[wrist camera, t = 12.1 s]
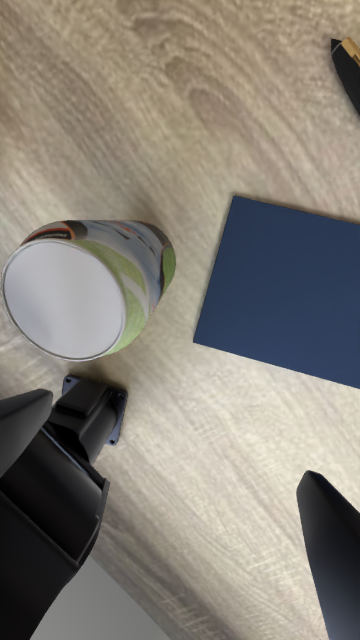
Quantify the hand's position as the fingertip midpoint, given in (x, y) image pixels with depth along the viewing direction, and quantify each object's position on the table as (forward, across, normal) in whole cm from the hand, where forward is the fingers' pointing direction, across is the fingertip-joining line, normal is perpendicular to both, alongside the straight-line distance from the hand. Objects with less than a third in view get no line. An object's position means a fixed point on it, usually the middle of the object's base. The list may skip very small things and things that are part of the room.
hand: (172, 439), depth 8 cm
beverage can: (+13, +6, -4) cm, 15 cm away
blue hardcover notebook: (+13, -10, -5) cm, 17 cm away
